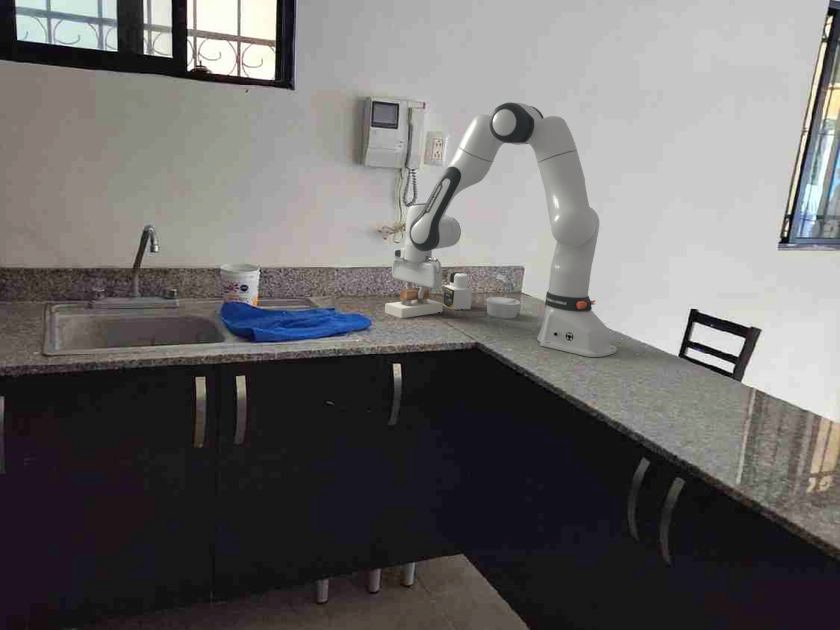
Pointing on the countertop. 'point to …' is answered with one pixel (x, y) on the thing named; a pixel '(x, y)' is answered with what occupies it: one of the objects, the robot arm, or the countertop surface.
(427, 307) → the white flat block
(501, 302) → the ramekin
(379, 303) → the countertop surface
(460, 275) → the medicine bottle
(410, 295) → the clip
